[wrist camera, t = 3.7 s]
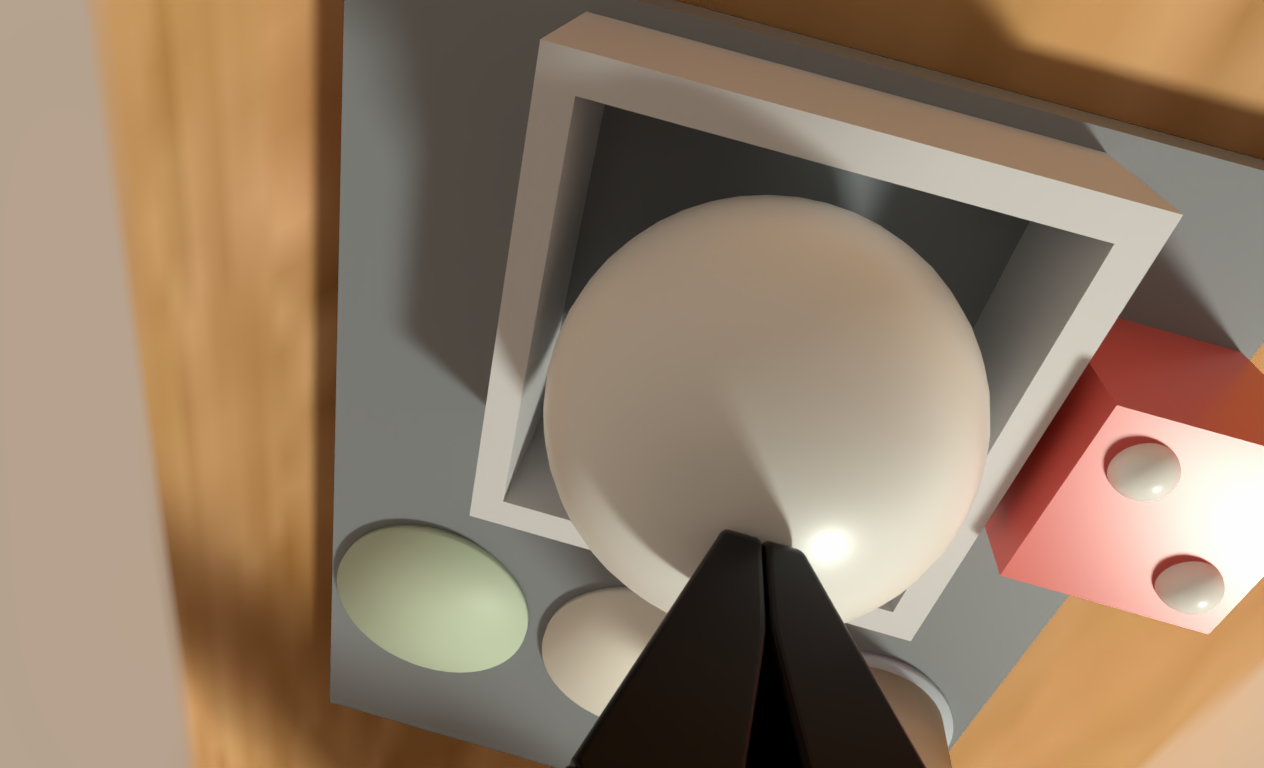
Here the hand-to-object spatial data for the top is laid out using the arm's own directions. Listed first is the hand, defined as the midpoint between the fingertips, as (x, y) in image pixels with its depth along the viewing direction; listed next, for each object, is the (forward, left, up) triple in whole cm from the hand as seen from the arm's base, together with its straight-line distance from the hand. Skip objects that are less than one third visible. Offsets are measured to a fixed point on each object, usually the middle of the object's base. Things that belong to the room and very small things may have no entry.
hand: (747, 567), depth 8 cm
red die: (-2, -5, -7) cm, 9 cm away
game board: (-4, +2, -7) cm, 8 cm away
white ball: (0, 0, -6) cm, 6 cm away
